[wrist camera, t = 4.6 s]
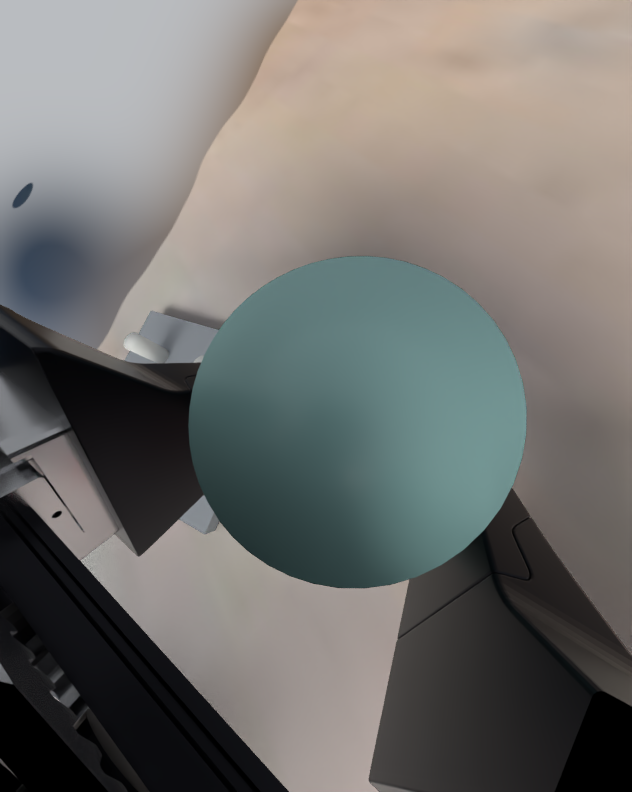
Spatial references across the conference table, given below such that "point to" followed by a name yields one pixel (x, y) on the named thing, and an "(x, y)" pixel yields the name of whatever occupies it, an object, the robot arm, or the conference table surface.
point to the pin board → (175, 345)
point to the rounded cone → (357, 422)
